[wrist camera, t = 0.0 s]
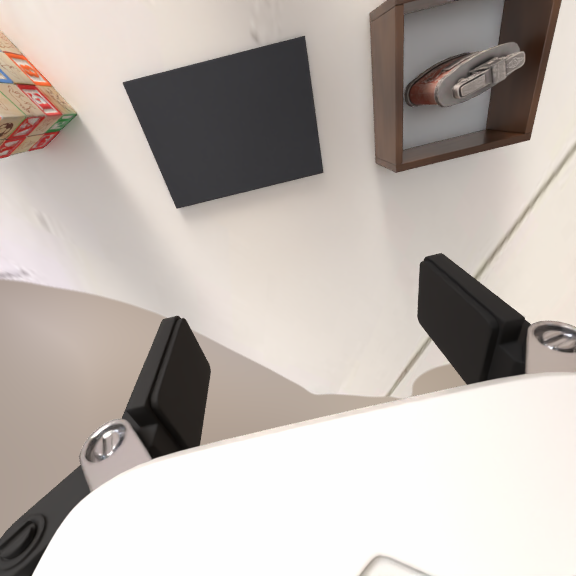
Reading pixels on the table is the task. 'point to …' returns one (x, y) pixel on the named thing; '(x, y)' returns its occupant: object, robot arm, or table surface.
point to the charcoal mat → (231, 122)
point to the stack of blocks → (27, 104)
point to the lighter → (464, 76)
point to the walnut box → (505, 95)
